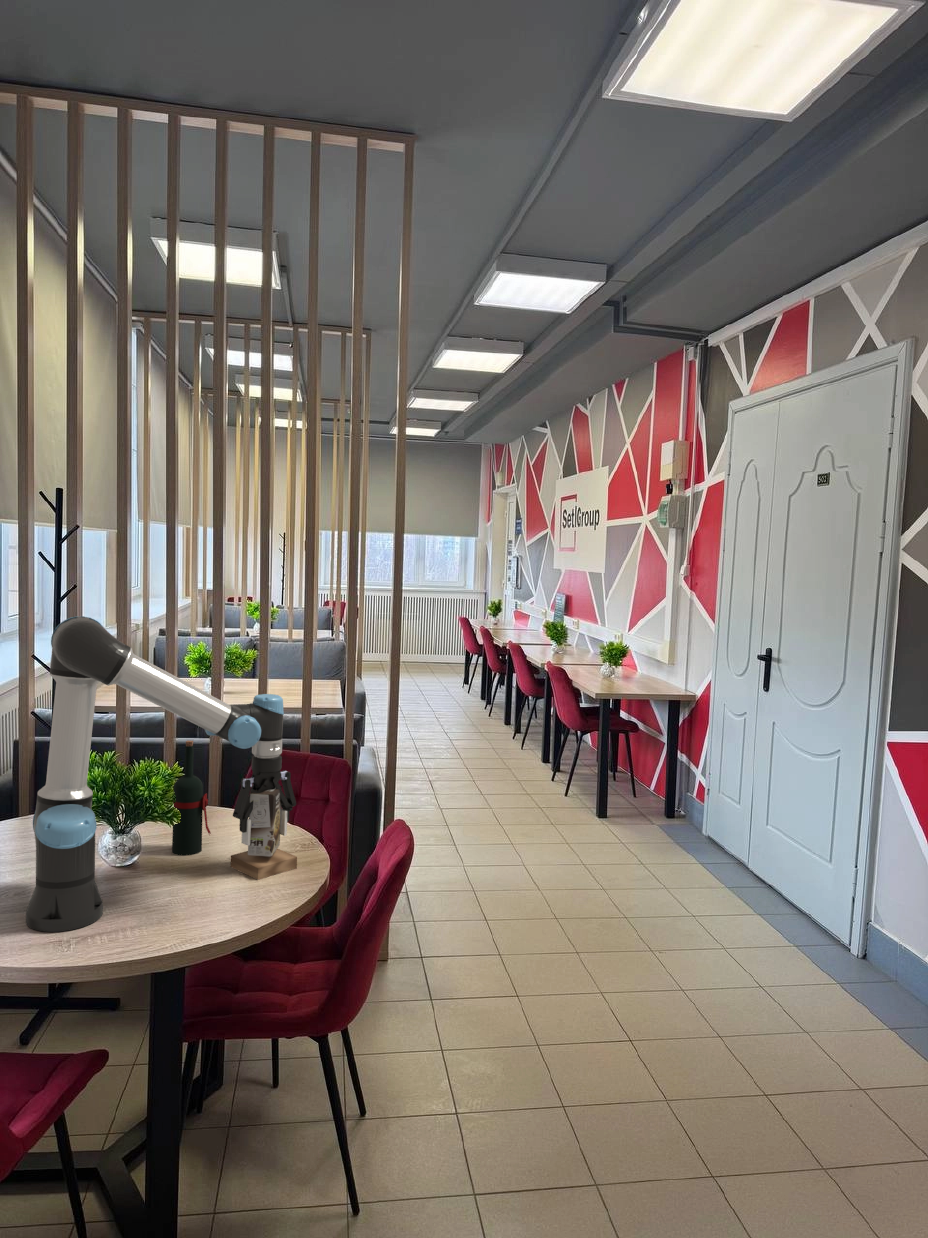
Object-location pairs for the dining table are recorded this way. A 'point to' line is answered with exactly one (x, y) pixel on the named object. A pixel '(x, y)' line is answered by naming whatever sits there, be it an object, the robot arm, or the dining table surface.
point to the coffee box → (265, 822)
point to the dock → (263, 863)
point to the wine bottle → (189, 809)
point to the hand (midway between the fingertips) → (264, 839)
